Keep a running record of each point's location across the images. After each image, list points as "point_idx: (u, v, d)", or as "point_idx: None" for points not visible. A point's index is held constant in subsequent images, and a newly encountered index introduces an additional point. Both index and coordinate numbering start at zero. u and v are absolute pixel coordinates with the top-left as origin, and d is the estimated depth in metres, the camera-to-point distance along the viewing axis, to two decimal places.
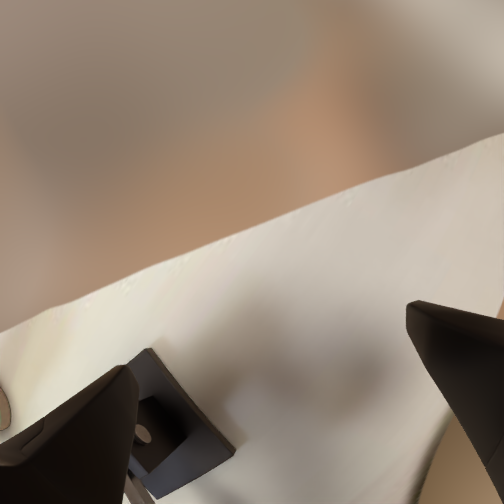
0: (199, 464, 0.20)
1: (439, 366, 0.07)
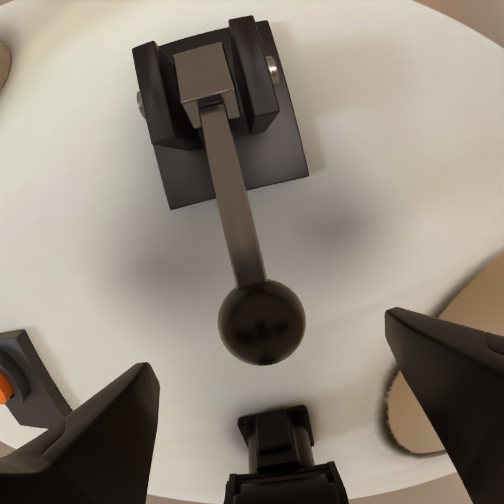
0: (261, 171, 0.19)
1: (416, 375, 0.07)
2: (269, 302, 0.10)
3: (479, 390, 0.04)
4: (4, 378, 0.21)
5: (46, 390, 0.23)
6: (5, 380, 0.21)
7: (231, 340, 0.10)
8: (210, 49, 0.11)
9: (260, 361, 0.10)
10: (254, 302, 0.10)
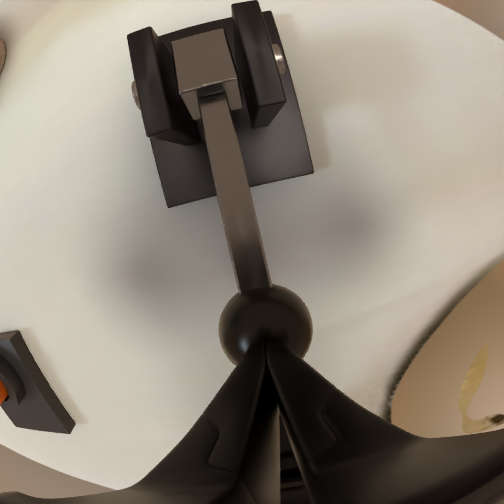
0: (263, 168, 0.18)
1: (281, 415, 0.07)
2: (275, 311, 0.09)
3: (301, 457, 0.04)
4: None
5: (41, 393, 0.22)
6: None
7: (233, 350, 0.09)
8: (211, 36, 0.10)
9: None
10: (258, 310, 0.09)
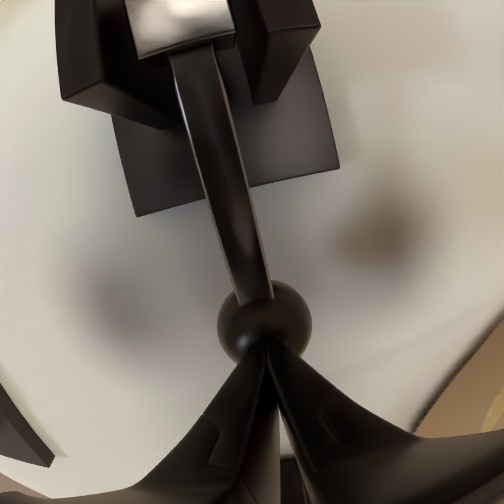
0: (269, 160, 0.12)
1: (281, 415, 0.07)
2: (280, 333, 0.09)
3: (301, 457, 0.04)
4: None
5: (13, 425, 0.17)
6: None
7: (237, 361, 0.09)
8: None
9: None
10: (263, 333, 0.09)
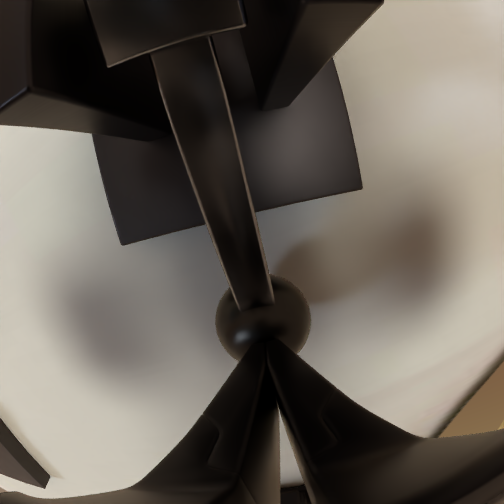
0: (280, 179, 0.10)
1: (281, 415, 0.07)
2: (281, 339, 0.09)
3: (301, 457, 0.04)
4: None
5: (6, 447, 0.15)
6: None
7: (237, 359, 0.10)
8: None
9: None
10: (264, 340, 0.09)
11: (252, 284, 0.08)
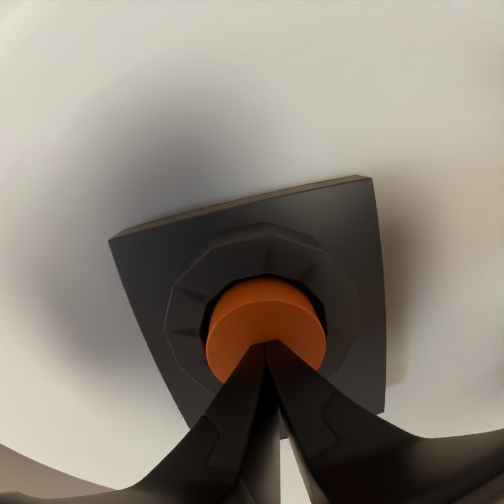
0: None
1: (281, 415, 0.07)
2: None
3: (300, 457, 0.04)
4: None
5: (385, 324, 0.12)
6: None
7: None
8: None
9: None
10: None
11: None
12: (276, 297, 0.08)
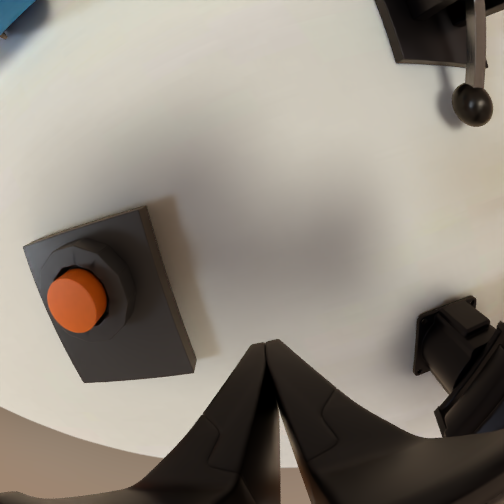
0: (462, 53, 0.15)
1: (281, 415, 0.07)
2: (490, 101, 0.14)
3: (301, 457, 0.04)
4: (97, 283, 0.17)
5: (167, 303, 0.19)
6: (99, 286, 0.17)
7: (473, 113, 0.15)
8: None
9: (478, 125, 0.15)
10: (485, 99, 0.14)
11: (480, 73, 0.13)
12: (69, 277, 0.15)
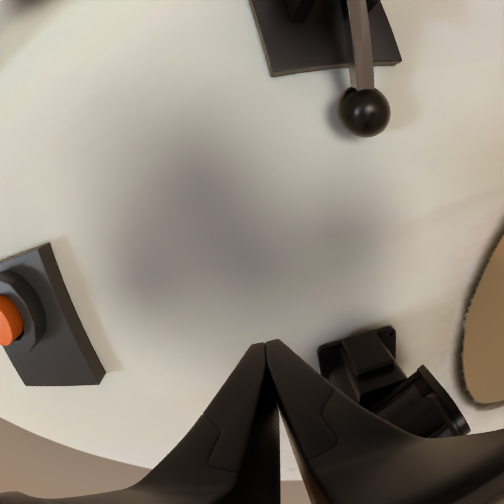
0: None
1: (281, 415, 0.07)
2: (381, 104, 0.14)
3: (300, 457, 0.04)
4: (13, 307, 0.18)
5: (68, 324, 0.20)
6: (14, 310, 0.18)
7: (355, 122, 0.15)
8: None
9: (368, 135, 0.16)
10: (373, 103, 0.14)
11: (366, 71, 0.14)
12: None
